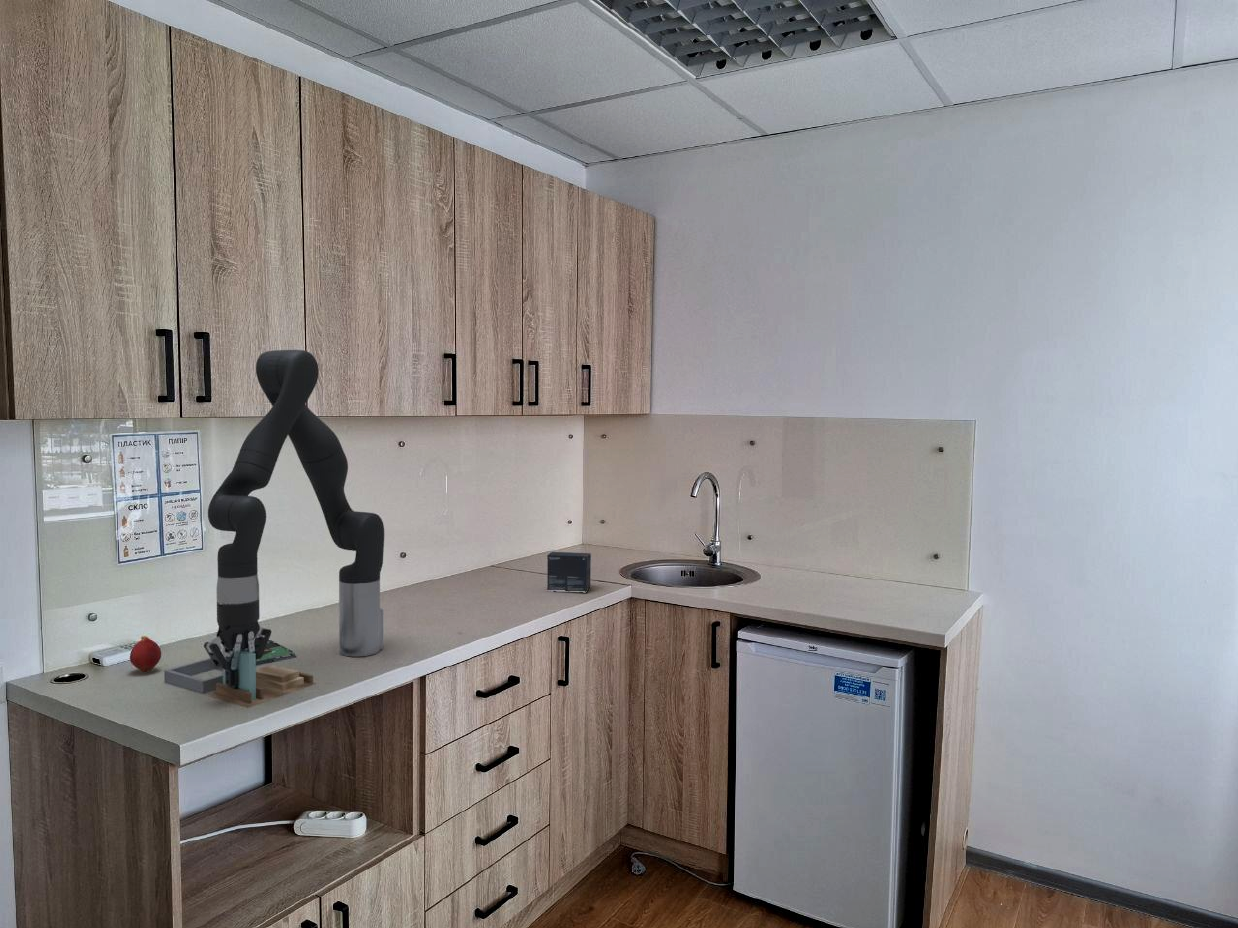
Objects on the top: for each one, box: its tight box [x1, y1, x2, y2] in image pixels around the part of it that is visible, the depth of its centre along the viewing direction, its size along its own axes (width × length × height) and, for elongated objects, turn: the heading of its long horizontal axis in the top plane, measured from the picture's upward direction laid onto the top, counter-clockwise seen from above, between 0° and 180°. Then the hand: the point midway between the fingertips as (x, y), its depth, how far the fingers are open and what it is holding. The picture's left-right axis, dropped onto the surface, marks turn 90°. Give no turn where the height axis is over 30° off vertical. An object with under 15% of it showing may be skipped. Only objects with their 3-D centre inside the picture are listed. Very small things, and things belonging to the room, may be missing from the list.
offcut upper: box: [256, 665, 300, 683], centre depth 168 cm, size 4×8×1 cm, turn 67°
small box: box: [546, 551, 592, 592], centre depth 263 cm, size 13×7×12 cm, turn 81°
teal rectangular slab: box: [222, 650, 257, 700], centre depth 160 cm, size 1×8×9 cm, turn 61°
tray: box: [163, 657, 223, 695], centre depth 170 cm, size 12×13×4 cm
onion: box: [129, 635, 162, 673], centre depth 177 cm, size 6×6×8 cm
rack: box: [204, 665, 317, 709], centre depth 165 cm, size 16×13×3 cm
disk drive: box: [256, 639, 297, 666], centre depth 187 cm, size 10×3×15 cm
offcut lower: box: [256, 677, 304, 691], centre depth 168 cm, size 5×9×1 cm, turn 61°
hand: (239, 684), depth 160 cm, fingers open, 2 cm apart
